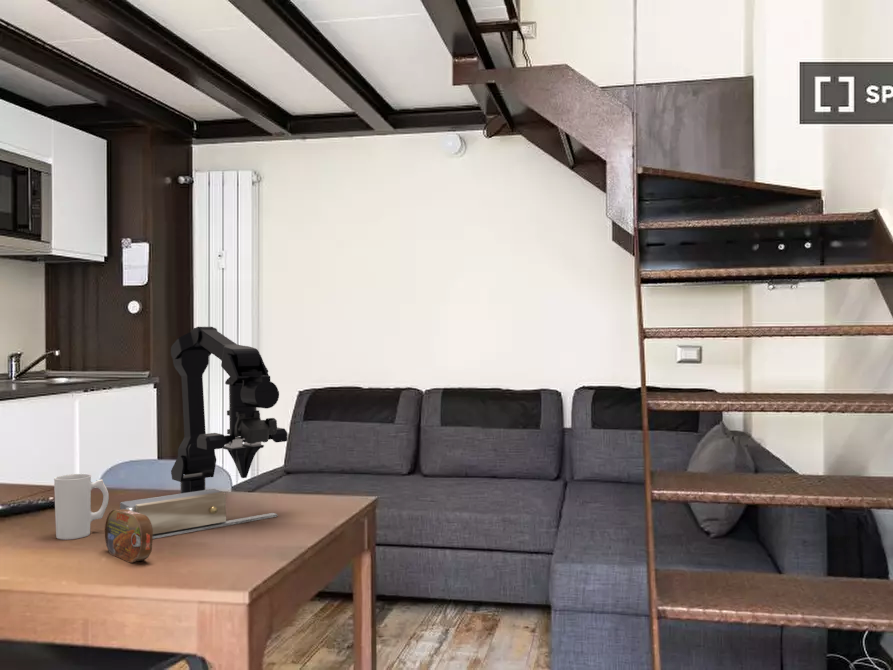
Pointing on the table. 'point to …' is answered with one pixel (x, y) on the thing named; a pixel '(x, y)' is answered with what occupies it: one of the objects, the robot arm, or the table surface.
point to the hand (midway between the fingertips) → (243, 477)
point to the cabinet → (165, 498)
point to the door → (185, 512)
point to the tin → (128, 535)
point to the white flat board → (210, 524)
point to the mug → (76, 505)
